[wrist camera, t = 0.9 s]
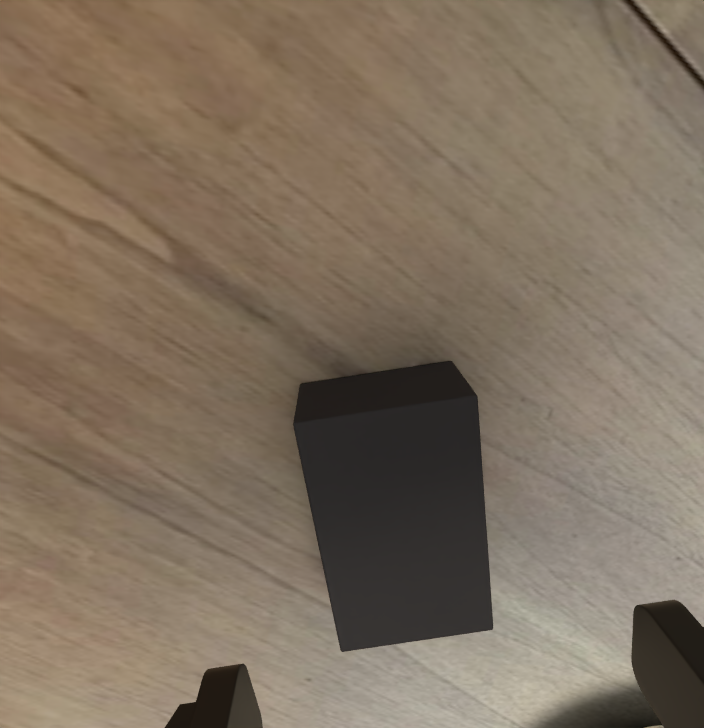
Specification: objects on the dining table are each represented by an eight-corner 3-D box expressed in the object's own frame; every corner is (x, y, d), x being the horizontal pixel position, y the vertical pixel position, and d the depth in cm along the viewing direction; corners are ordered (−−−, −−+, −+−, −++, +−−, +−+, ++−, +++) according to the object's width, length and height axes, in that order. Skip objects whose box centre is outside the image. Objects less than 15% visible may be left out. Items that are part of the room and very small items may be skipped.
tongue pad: (299, 383, 19) (292, 423, 15) (452, 360, 19) (477, 395, 15) (339, 584, 22) (340, 653, 19) (469, 565, 22) (493, 630, 19)
